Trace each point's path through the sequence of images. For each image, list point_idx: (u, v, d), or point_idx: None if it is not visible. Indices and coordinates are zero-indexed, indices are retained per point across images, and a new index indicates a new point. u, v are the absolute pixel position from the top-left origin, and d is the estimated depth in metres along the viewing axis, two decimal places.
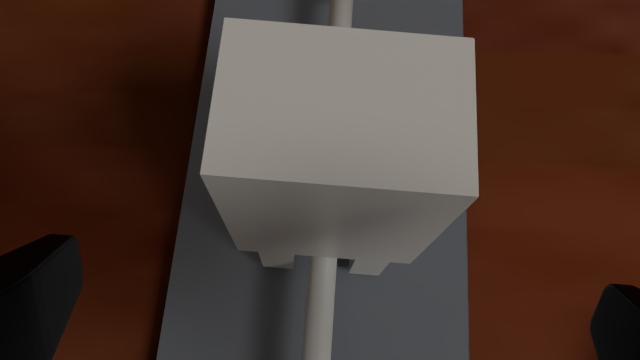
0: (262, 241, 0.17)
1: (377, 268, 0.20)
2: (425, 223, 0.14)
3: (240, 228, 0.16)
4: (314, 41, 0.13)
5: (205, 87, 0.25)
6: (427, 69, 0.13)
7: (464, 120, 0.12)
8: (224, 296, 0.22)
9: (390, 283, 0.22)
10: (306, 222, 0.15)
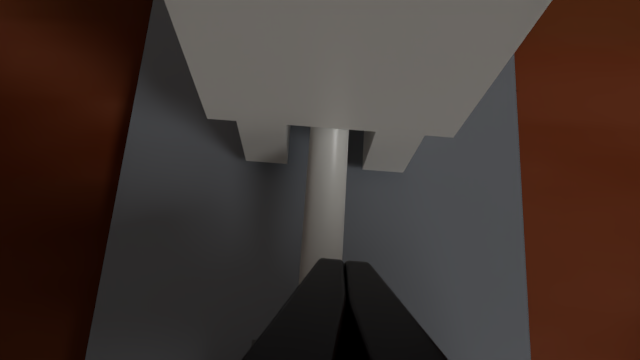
0: (240, 89, 0.12)
1: (404, 154, 0.15)
2: (510, 0, 0.08)
3: (202, 48, 0.10)
4: None
5: None
6: None
7: None
8: (193, 202, 0.16)
9: (418, 185, 0.16)
10: (307, 17, 0.09)
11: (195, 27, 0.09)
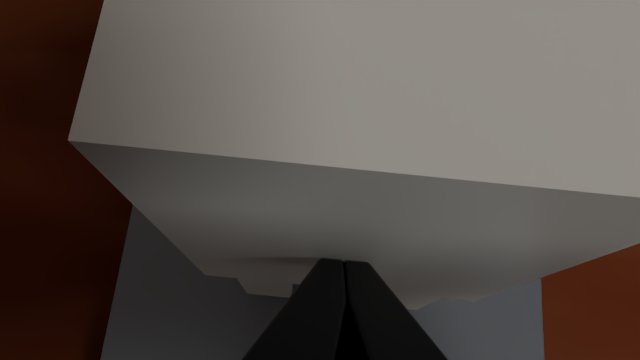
0: (241, 266, 0.10)
1: (418, 303, 0.13)
2: (552, 253, 0.07)
3: (199, 247, 0.09)
4: None
5: None
6: None
7: None
8: (188, 347, 0.15)
9: (431, 331, 0.15)
10: (317, 243, 0.08)
11: (190, 238, 0.08)
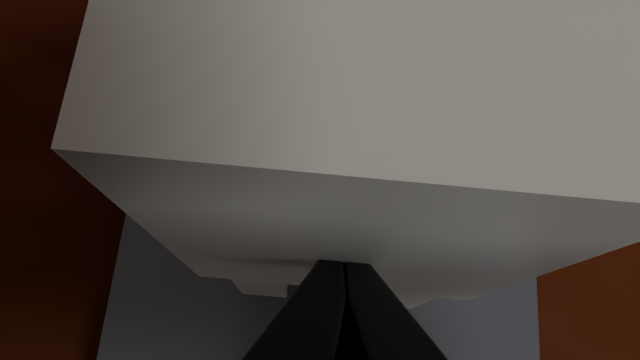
0: (234, 268, 0.10)
1: (413, 302, 0.13)
2: (542, 254, 0.07)
3: (191, 251, 0.09)
4: None
5: (115, 296, 0.15)
6: None
7: None
8: None
9: None
10: (308, 246, 0.08)
11: (181, 242, 0.08)
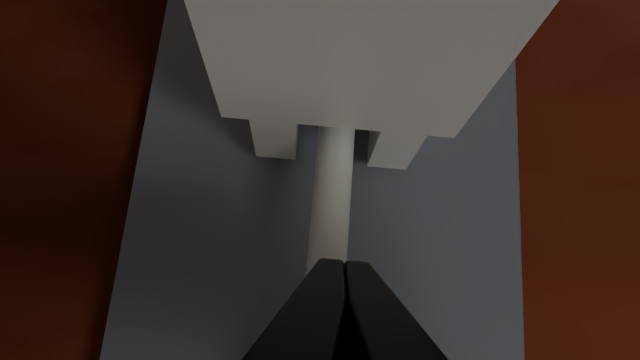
0: (254, 90, 0.12)
1: (407, 152, 0.15)
2: (507, 17, 0.09)
3: (220, 53, 0.11)
4: None
5: (144, 154, 0.17)
6: None
7: None
8: None
9: None
10: (319, 28, 0.10)
11: (215, 35, 0.10)
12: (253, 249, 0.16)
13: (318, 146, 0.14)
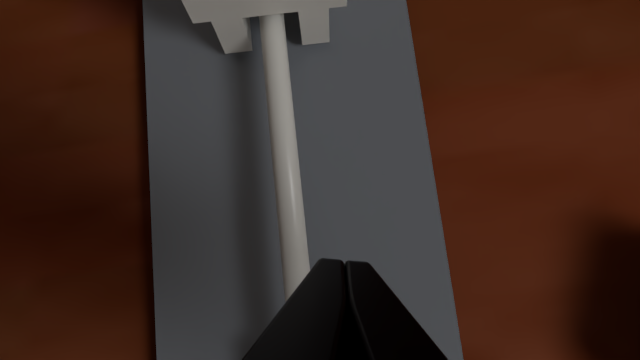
0: None
1: (323, 26, 0.22)
2: None
3: None
4: None
5: (149, 69, 0.24)
6: None
7: None
8: (208, 271, 0.22)
9: (365, 228, 0.22)
10: None
11: None
12: (236, 116, 0.24)
13: (261, 31, 0.22)
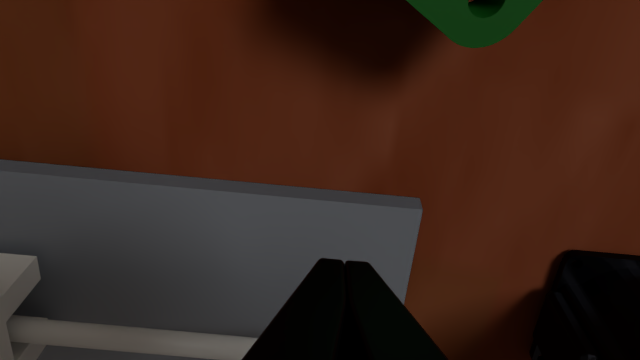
0: None
1: (19, 281, 0.22)
2: None
3: None
4: None
5: None
6: None
7: None
8: None
9: (231, 256, 0.24)
10: None
11: None
12: None
13: None
